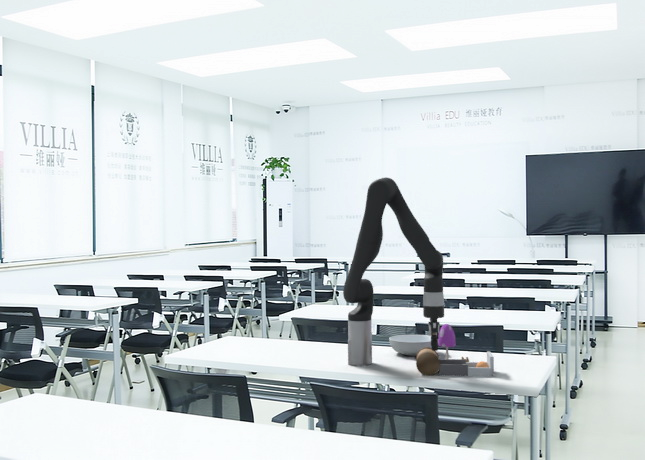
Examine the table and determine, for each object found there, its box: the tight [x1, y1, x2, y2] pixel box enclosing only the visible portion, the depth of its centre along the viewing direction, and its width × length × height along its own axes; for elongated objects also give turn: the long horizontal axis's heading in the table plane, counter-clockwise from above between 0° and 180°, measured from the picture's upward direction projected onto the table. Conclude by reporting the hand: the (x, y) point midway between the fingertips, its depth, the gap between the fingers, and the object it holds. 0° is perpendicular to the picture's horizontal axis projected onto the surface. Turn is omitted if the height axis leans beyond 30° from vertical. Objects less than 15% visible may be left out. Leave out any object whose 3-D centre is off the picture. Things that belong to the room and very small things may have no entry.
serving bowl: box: [388, 334, 432, 357], centre depth 270 cm, size 21×21×7 cm
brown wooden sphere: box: [415, 347, 440, 377], centre depth 234 cm, size 10×8×8 cm
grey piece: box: [438, 351, 495, 378], centre depth 232 cm, size 19×10×7 cm, turn 82°
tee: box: [461, 356, 470, 362], centre depth 239 cm, size 3×3×4 cm
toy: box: [438, 323, 456, 359], centre depth 252 cm, size 7×7×15 cm
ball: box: [476, 360, 489, 368], centre depth 231 cm, size 4×4×4 cm
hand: (434, 348), depth 233 cm, fingers open, 8 cm apart
